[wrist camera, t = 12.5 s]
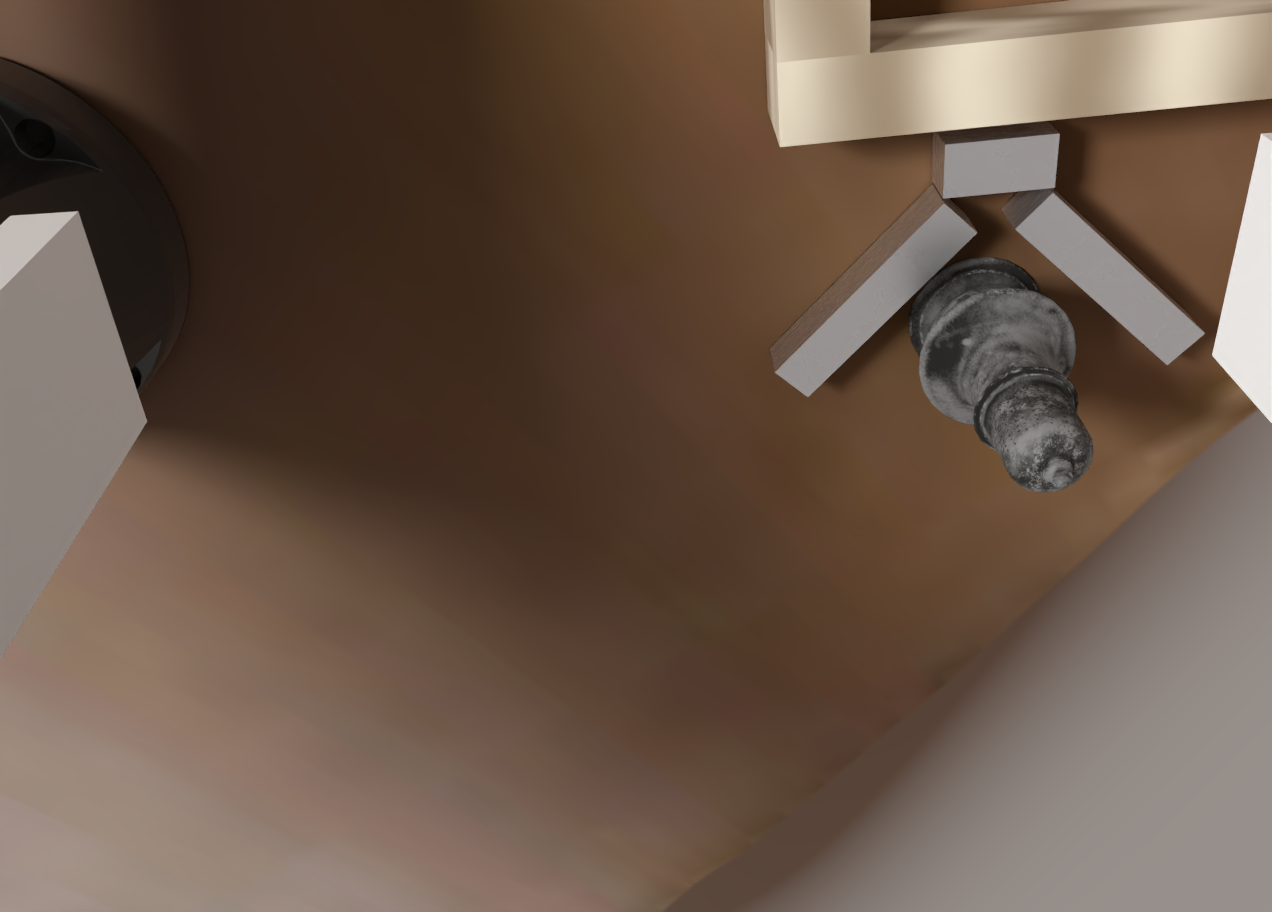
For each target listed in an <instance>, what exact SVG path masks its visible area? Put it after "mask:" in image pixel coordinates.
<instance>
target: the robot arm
mask: <svg viewBox="0 0 1272 912" xmlns="http://www.w3.org/2000/svg"><path fill="white" fill-rule="evenodd" d="M188 297H189V268H188V259H187V253H186V248H185V243H184V239H183V236H182V232H181V229H180V226H179V223H178V221H177V218H176V215H175V213H174V210H173V208H172V206H171V204H170V201H169V200H168V198H167V196H166V194H165V192H164V190H163V188H162V186H161V185H160V183H159V182H158V180H157V178H156V177H155V175H154V173H153V172H152V171H151V169H150V168H149V166H148V165H147V163H146V162H145V161H144V159H143V158H142V157H141V156H140V154H139V153H138V152H137V151H136V149H135V148H134V147H133V146H132V145H131V144H130V143H129V141H128V140H127V139H126V138H125V137H124V136H123V135H122V134H121V133H120V132H119V131H118V130H117V129H116V128H115V127H114V126H113V125H112V124H111V123H110V122H109V121H108V120H106V119H105V118H104V117H103V116H102V115H101V114H100V113H98V112H97V111H96V110H95V109H93V108H92V107H91V106H89V105H88V104H87V103H86V102H84V101H83V100H82V99H80V98H79V97H77V96H76V95H74V94H73V93H71V92H70V91H68V90H67V89H65V88H63V87H62V86H60V85H58V84H57V83H55V82H53V81H51V80H49V79H48V78H46V77H44V76H42V75H40V74H38V73H36V72H34V71H31V70H29V69H27V68H24V67H22V66H20V65H17V64H14V63H12V62H9V61H6V60H4V59H0V659H1V657H2V656H3V654H4V653H5V651H6V649H7V648H8V646H9V644H10V643H11V641H12V640H13V638H14V636H15V635H16V633H17V632H18V630H19V628H20V627H21V625H22V623H23V622H24V620H25V619H26V617H27V615H28V614H29V612H30V611H31V609H32V607H33V606H34V604H35V602H36V601H37V599H38V598H39V596H40V594H41V593H42V591H43V589H44V588H45V586H46V585H47V583H48V581H49V580H50V578H51V577H52V575H53V573H54V572H55V570H56V568H57V567H58V565H59V564H60V562H61V560H62V559H63V557H64V555H65V554H66V552H67V551H68V549H69V547H70V546H71V544H72V543H73V541H74V539H75V538H76V536H77V534H78V533H79V531H80V530H81V528H82V526H83V525H84V523H85V521H86V520H87V518H88V517H89V515H90V513H91V512H92V510H93V509H94V507H95V505H96V504H97V502H98V500H99V499H100V497H101V496H102V494H103V492H104V491H105V489H106V488H107V486H108V484H109V483H110V481H111V479H112V478H113V476H114V475H115V473H116V471H117V470H118V468H119V466H120V465H121V463H122V462H123V460H124V458H125V457H126V455H127V454H128V452H129V450H130V449H131V447H132V445H133V444H134V442H135V441H136V439H137V437H138V436H139V434H140V432H141V431H142V429H143V428H144V426H145V424H146V423H147V420H146V416H145V413H144V410H143V407H142V404H141V401H140V398H139V395H140V394H141V393H142V391H143V390H144V389H145V388H146V387H147V386H148V384H149V383H150V382H151V380H152V379H153V377H154V376H155V374H156V373H157V371H158V370H159V368H160V367H161V365H162V364H163V362H164V361H165V359H166V358H167V356H168V355H169V353H170V352H171V350H172V348H173V346H174V345H175V343H176V341H177V338H178V336H179V334H180V332H181V329H182V325H183V322H184V319H185V315H186V310H187V304H188ZM1212 356H1213V357H1214V358H1215V359H1216V360H1217V362H1218V363H1219V364H1220V365H1221V366H1222V367H1223V368H1224V370H1225V371H1226V372H1227V373H1228V374H1229V375H1230V376H1231V378H1232V379H1233V380H1234V381H1235V382H1236V383H1237V384H1238V386H1239V387H1240V388H1241V389H1242V390H1243V391H1244V392H1245V394H1246V395H1247V396H1248V397H1249V398H1250V399H1251V400H1252V401H1253V403H1254V404H1255V405H1256V406H1257V407H1258V408H1259V409H1260V411H1261V412H1262V413H1263V414H1264V415H1265V416H1266V417H1267V419H1268V420H1269V421H1270V422H1271V423H1272V133H1264V134H1261V137H1260V141H1259V146H1258V150H1257V155H1256V159H1255V164H1254V168H1253V173H1252V177H1251V182H1250V186H1249V191H1248V195H1247V200H1246V204H1245V209H1244V213H1243V218H1242V223H1241V227H1240V232H1239V236H1238V241H1237V245H1236V250H1235V254H1234V259H1233V263H1232V268H1231V272H1230V277H1229V281H1228V286H1227V290H1226V295H1225V299H1224V304H1223V308H1222V313H1221V317H1220V322H1219V326H1218V331H1217V335H1216V340H1215V344H1214V349H1213V353H1212Z"/></svg>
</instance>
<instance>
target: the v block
mask: <svg viewBox="0 0 1272 912" xmlns="http://www.w3.org/2000/svg"><path fill="white" fill-rule="evenodd" d="M1059 137H1060V133H1059V132H1058V131H1057V130H1056V129H1055V128H1054V127H1053V126H1052V125H1051V124H1050V122H1049V121H1039V122H1029V123H1019V124H1009V125H999V126H989V127H978V128H968V129H958V130H948V131H938V132H933V143H932V172H931V180H932V181H933V183H934V185H935V186H936V187H935V186H934V185H933V184H932V185H931V186H930V187H929V188H928V189H927V190H926V191H925V192H924V193H923V194H922V195H921V196H920V197H919V198H918V199H917V200H916V201H915V202H914V203H913V204H912V205H911V206H910V207H909V208H908V209H907V210H906V211H905V212H904V213H903V214H902V215H901V216H900V217H899V218H898V219H897V220H896V221H895V222H894V223H893V224H892V225H891V226H890V227H889V228H888V229H887V230H886V231H885V232H884V233H883V234H882V235H881V236H880V237H879V238H878V239H877V240H876V241H875V242H874V243H873V244H872V245H871V246H870V247H869V248H868V249H867V250H866V251H865V252H864V253H863V254H862V256H861V257H860V258H859V259H858V260H857V261H856V262H855V263H854V264H853V265H852V266H851V267H850V268H849V269H848V270H847V271H846V272H845V273H844V274H843V275H842V276H841V277H840V278H839V279H838V280H837V281H836V282H835V283H834V284H833V285H832V286H831V287H830V288H829V289H828V290H827V291H826V292H825V293H824V294H823V295H822V296H821V297H820V298H819V299H818V300H817V301H816V302H815V303H814V304H813V305H812V306H811V307H810V308H809V309H808V310H807V311H806V312H805V313H804V314H803V315H802V316H801V317H800V318H799V319H798V320H797V321H796V322H795V323H794V324H793V325H792V326H791V327H790V329H789V330H788V331H787V332H786V333H785V334H784V335H783V336H782V337H781V338H780V339H779V340H778V341H777V342H776V343H775V344H774V345H773V346H772V347H771V348H770V352H771V357H772V362H773V366H774V371H775V373H776V374H778V375H779V376H780V377H782V378H783V379H784V380H786V381H787V382H788V383H789V384H791V385H792V386H793V387H795V388H796V389H797V390H799V391H800V392H801V393H803V394H804V395H805V396H807V397H809V396H810V395H811V394H812V393H813V392H814V391H815V390H816V389H817V388H818V387H819V386H820V385H821V384H822V383H823V382H824V381H825V380H826V379H827V378H828V377H830V376H831V375H832V374H833V373H834V372H835V371H836V370H837V369H838V368H839V367H840V366H841V365H842V364H843V363H844V362H845V361H846V360H847V359H848V358H849V357H850V356H851V355H852V354H853V353H854V352H855V351H856V350H857V349H858V348H859V347H860V346H861V345H862V344H864V343H865V342H866V341H867V340H868V339H869V338H870V337H871V336H872V335H873V334H874V333H875V332H876V331H877V330H878V329H879V328H880V327H881V326H882V325H883V324H884V323H885V322H886V321H887V320H888V319H889V318H890V317H891V316H892V315H893V314H894V313H895V312H896V311H898V310H899V309H900V308H901V307H902V306H903V305H904V304H905V303H906V302H907V301H908V300H909V299H910V298H911V297H912V296H913V295H914V294H915V293H916V292H917V291H918V290H919V289H920V288H921V287H922V286H923V285H924V284H925V283H926V282H927V281H928V280H929V279H930V278H932V277H933V276H934V275H935V274H936V273H937V272H938V271H939V270H940V269H941V268H942V267H943V266H944V265H945V264H946V263H947V262H948V261H949V260H950V259H951V258H952V257H953V256H954V255H955V254H956V253H957V252H958V251H959V250H960V249H961V248H962V247H963V246H964V245H965V244H967V243H968V242H969V241H970V240H971V239H972V238H973V237H974V236H975V235H976V234H977V231H976V229H975V228H974V226H973V225H972V223H971V221H970V220H969V218H968V217H967V215H966V214H965V212H964V211H963V210H962V209H960V208H959V207H958V206H957V205H956V204H955V203H954V202H952V201H951V200H950V199H949V198H955V197H965V196H975V195H986V194H996V193H1007V192H1017V191H1019V192H1018V193H1017V194H1016V195H1015V196H1014V197H1013V198H1012V199H1011V200H1010V201H1009V202H1007V203H1006V204H1005V205H1004V206H1003V207H1002V208H1001V210H1002V211H1003V213H1004V214H1005V216H1006V217H1007V218H1008V220H1009V221H1010V223H1011V224H1012V226H1013V227H1014V228H1015V230H1017V231H1018V232H1019V233H1020V234H1021V235H1022V236H1023V237H1024V238H1025V239H1027V240H1028V241H1029V242H1030V243H1031V244H1032V245H1033V246H1034V247H1036V248H1037V249H1038V250H1039V251H1040V252H1041V253H1042V254H1043V255H1044V256H1046V257H1047V258H1048V259H1049V260H1050V261H1051V262H1052V263H1053V264H1055V265H1056V266H1057V267H1058V268H1059V269H1060V270H1061V271H1062V272H1063V273H1065V274H1066V275H1067V276H1068V277H1069V278H1070V279H1071V280H1072V281H1074V282H1075V283H1076V284H1077V285H1078V286H1079V287H1080V288H1081V289H1082V290H1084V291H1085V292H1086V293H1087V294H1088V295H1089V296H1090V297H1091V298H1092V299H1094V300H1095V301H1096V302H1097V303H1098V304H1099V305H1100V306H1101V307H1103V308H1104V309H1105V310H1106V311H1107V312H1108V313H1109V314H1110V315H1111V316H1113V317H1114V318H1115V319H1116V320H1117V321H1118V322H1119V323H1120V324H1122V325H1123V326H1124V327H1125V328H1126V329H1127V330H1128V331H1129V332H1130V333H1132V334H1133V335H1134V336H1135V337H1136V338H1137V339H1138V340H1139V341H1141V342H1142V343H1143V344H1144V345H1145V346H1146V347H1147V348H1148V349H1149V350H1151V351H1152V352H1153V353H1154V354H1155V355H1156V356H1157V357H1158V358H1160V359H1161V360H1162V361H1163V362H1164V363H1165V364H1166V365H1168V364H1169V363H1171V362H1172V361H1173V360H1174V359H1175V358H1177V357H1178V356H1179V355H1180V354H1181V353H1183V352H1184V351H1185V350H1186V349H1187V348H1188V347H1190V346H1191V345H1192V344H1193V343H1194V342H1196V341H1197V340H1198V339H1199V338H1200V337H1202V336H1203V335H1204V334H1205V333H1204V332H1203V331H1202V329H1201V328H1200V327H1199V326H1198V325H1197V324H1196V323H1195V321H1194V320H1193V319H1192V318H1191V317H1190V316H1189V315H1188V313H1187V312H1186V311H1185V310H1184V309H1183V308H1182V307H1181V306H1179V305H1178V304H1177V303H1176V302H1175V301H1174V300H1173V299H1172V298H1171V297H1170V296H1169V295H1168V294H1167V293H1165V292H1164V291H1163V290H1162V289H1161V288H1160V287H1159V286H1158V285H1157V284H1156V283H1155V282H1154V281H1153V280H1151V279H1150V278H1149V277H1148V276H1147V275H1146V274H1145V273H1144V272H1143V271H1142V270H1141V269H1140V268H1139V267H1137V266H1136V265H1135V264H1134V263H1133V262H1132V261H1131V260H1130V259H1129V258H1128V257H1127V256H1126V255H1125V254H1123V253H1122V252H1121V251H1120V250H1119V249H1118V248H1117V247H1116V246H1115V245H1114V244H1113V243H1112V242H1111V241H1109V240H1108V239H1107V238H1106V237H1105V236H1104V235H1103V234H1102V233H1101V232H1100V231H1099V230H1098V229H1097V228H1095V227H1094V226H1093V225H1092V224H1091V223H1090V222H1089V221H1088V220H1087V219H1086V218H1085V217H1084V216H1083V215H1081V214H1080V213H1079V212H1078V211H1077V210H1076V209H1075V208H1074V207H1073V206H1072V205H1071V204H1070V203H1068V202H1067V201H1066V200H1065V199H1064V198H1063V197H1062V196H1061V195H1060V194H1059V193H1058V192H1057V191H1056V190H1054V189H1053V188H1055V181H1056V170H1057V159H1058V148H1059Z"/></svg>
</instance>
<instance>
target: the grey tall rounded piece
mask: <svg viewBox="0 0 1272 912" xmlns="http://www.w3.org/2000/svg"><path fill="white" fill-rule="evenodd" d="M909 333H910V338H911V342H912V345H913V346H914V348H915V350H916V352H917V353H918V355H919V357H920V360H919V375H920V380H921V384H922V388H923V390H924V392H925V394H926V395H927V397H928V399H929V400H930V402H931V404H932V405H934V406H935V407H936V408H937V409H938V410H939V411H940V412H941V413H943V414H944V415H945V416H947V417H949V418H952V419H954V420H956V421H958V422H960V423H965V424H970V425H974V427H975V431H976V433H977V434H978V436H979V438H980V439H981V441H982V442H983V443H985V444H986V445H987V446H988V447H989V448H991V449H993V450H996V451H998V453H999V455H1000V457H1001V459H1002V461H1003V463H1004V465H1005V467H1006V469H1007V471H1008V473H1009V475H1010V476H1011V478H1012V479H1013V480H1014V481H1015V482H1016V483H1018V484H1019V485H1020V486H1021V487H1023V488H1025V489H1027V490H1030V491H1034V492H1055V491H1059V490H1062V489H1065V488H1067V487H1069V486H1071V485H1072V484H1074V483H1075V482H1077V481H1078V480H1079V479H1080V478H1081V477H1082V476H1083V475H1084V473H1085V472H1086V471H1087V470H1088V468H1089V466H1090V464H1091V462H1092V458H1093V453H1094V451H1093V444H1092V438H1091V436H1090V435H1089V433H1088V431H1087V429H1086V427H1085V426H1084V424H1083V423H1082V421H1081V419H1080V418H1079V416H1078V414H1077V409H1078V397H1077V392H1076V390H1075V388H1074V386H1073V384H1072V382H1071V381H1070V380H1069V379H1068V376H1069V374H1070V372H1071V370H1072V368H1073V366H1074V360H1075V354H1076V348H1077V346H1076V339H1075V331H1074V328H1073V326H1072V324H1071V322H1070V320H1069V318H1068V316H1067V314H1066V313H1065V312H1064V311H1063V310H1062V309H1061V308H1060V307H1059V306H1058V305H1057V304H1056V303H1055V302H1054V301H1053V300H1051V299H1050V298H1048V297H1046V296H1044V295H1042V294H1040V292H1039V290H1038V288H1037V286H1036V285H1035V283H1034V281H1033V279H1032V278H1031V277H1030V276H1029V275H1028V274H1027V273H1026V272H1025V271H1024V270H1023V269H1022V268H1021V267H1019V266H1017V265H1015V264H1013V263H1011V262H1009V261H1007V260H1003V259H998V258H993V257H978V258H970V259H967V260H963V261H960V262H956V263H954V264H952V265H950V266H948V267H947V268H945V269H943V270H941V271H939V272H938V273H937V274H936V275H935V276H934V277H932V278H931V279H930V280H929V281H928V282H927V283H926V284H925V285H924V286H923V288H922V289H921V291H920V292H919V294H918V295H917V296H916V298H915V301H914V303H913V306H912V309H911V311H910V317H909Z"/></svg>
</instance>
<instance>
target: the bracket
mask: <svg viewBox="0 0 1272 912" xmlns="http://www.w3.org/2000/svg"><path fill="white" fill-rule="evenodd" d="M764 23H765V48H766V73H767V98H768V112H769V115H770V118H771V122H772V125H773V128H774V131H775V134H776V137H777V140H778V143H779V146H780V147H786V146H796V145H806V144H817V143H827V142H837V141H847V140H857V139H867V138H877V137H887V136H897V135H908V134H918V133H928V132H938V131H948V130H958V129H968V128H978V127H989V126H999V125H1009V124H1019V123H1029V122H1039V121H1049V120H1059V119H1069V118H1080V117H1090V116H1100V115H1110V114H1120V113H1130V112H1140V111H1150V110H1160V109H1171V108H1181V107H1191V106H1201V105H1211V104H1221V103H1231V102H1241V101H1251V100H1262V99H1272V0H1070V1H1060V2H1051V3H1041V4H1031V5H1022V6H1012V7H1002V8H993V9H983V10H973V11H964V12H954V13H944V14H935V15H925V16H915V17H906V18H896V19H886V20H876V21H870V0H764Z"/></svg>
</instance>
